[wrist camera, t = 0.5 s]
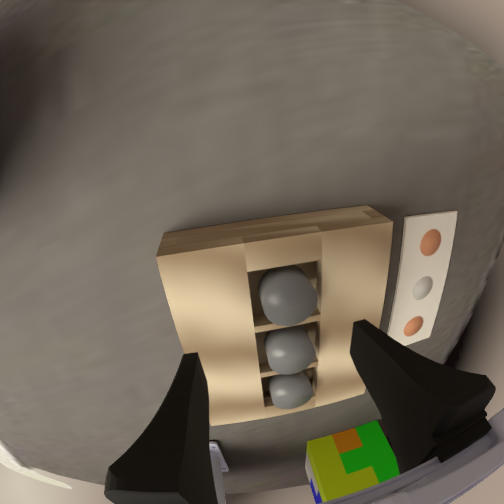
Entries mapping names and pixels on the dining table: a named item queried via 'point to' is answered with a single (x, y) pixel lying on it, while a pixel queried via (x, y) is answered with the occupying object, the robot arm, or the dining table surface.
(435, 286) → the card
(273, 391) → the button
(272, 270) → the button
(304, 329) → the middle button
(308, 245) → the button board
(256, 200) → the dining table surface
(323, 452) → the puzzle toy
